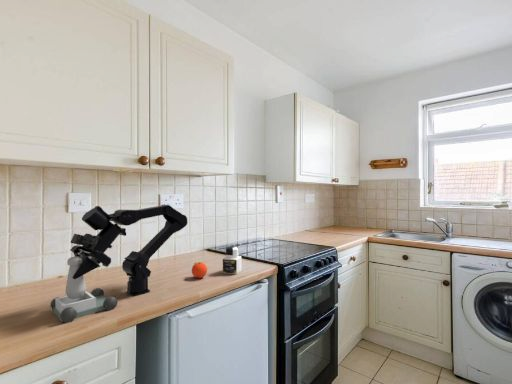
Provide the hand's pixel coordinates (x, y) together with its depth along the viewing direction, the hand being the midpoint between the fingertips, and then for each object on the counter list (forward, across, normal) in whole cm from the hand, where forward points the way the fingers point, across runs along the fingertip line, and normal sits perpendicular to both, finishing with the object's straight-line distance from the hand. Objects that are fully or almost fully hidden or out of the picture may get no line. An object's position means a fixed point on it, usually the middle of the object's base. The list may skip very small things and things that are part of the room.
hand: (71, 277), depth 92 cm
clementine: (-26, +5, +44) cm, 52 cm away
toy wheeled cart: (+6, 0, +11) cm, 12 cm away
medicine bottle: (-37, +12, +55) cm, 67 cm away
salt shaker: (+4, 0, +6) cm, 7 cm away
